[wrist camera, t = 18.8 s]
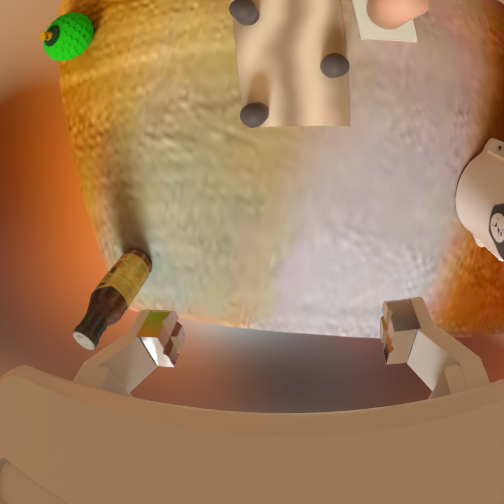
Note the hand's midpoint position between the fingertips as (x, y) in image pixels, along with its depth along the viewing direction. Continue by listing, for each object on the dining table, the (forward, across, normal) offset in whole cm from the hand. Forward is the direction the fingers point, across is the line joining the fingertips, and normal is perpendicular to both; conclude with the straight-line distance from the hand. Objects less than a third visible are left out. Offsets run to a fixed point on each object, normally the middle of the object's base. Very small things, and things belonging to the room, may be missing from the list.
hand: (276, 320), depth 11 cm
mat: (+31, -15, -18) cm, 39 cm away
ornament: (+31, +28, -26) cm, 49 cm away
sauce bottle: (+31, +30, +16) cm, 46 cm away
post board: (+32, -2, -15) cm, 35 cm away
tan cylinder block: (+30, -15, -18) cm, 38 cm away
